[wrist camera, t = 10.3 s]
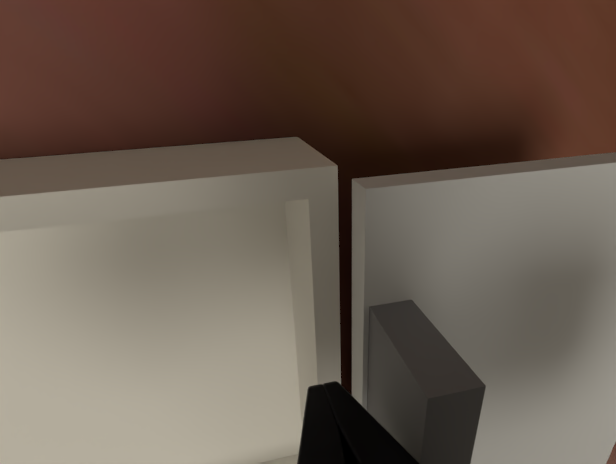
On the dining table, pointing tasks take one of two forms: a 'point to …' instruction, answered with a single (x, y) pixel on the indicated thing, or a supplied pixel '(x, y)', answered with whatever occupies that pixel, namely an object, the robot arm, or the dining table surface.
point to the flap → (489, 310)
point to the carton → (166, 302)
